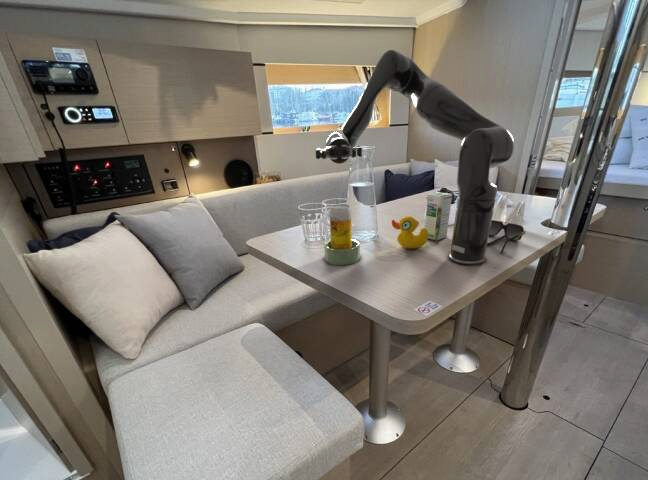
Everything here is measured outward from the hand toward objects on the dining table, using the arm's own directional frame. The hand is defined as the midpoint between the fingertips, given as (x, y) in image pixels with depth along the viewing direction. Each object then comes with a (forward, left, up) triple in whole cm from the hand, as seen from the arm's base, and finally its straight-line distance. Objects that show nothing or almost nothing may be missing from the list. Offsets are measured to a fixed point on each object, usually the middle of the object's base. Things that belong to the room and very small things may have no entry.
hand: (338, 154), depth 92 cm
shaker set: (-48, +36, -28) cm, 67 cm away
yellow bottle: (+8, +7, -28) cm, 30 cm away
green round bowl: (+8, +7, -28) cm, 30 cm away
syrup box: (-25, +21, -28) cm, 43 cm away
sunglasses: (-29, +38, -28) cm, 56 cm away
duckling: (-11, +19, -28) cm, 36 cm away
